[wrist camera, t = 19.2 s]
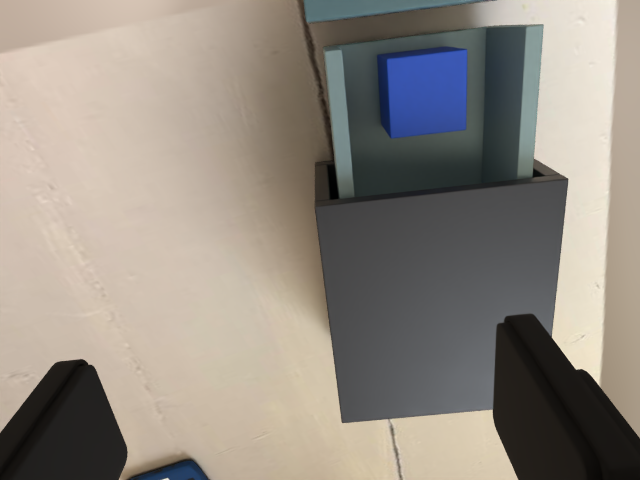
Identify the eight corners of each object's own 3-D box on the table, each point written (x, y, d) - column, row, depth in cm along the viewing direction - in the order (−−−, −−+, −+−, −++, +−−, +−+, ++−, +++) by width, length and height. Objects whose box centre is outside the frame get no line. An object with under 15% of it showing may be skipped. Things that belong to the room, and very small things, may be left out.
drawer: (293, -105, 25) (286, -149, 18) (513, -135, 24) (580, -191, 18) (330, 220, 32) (333, 265, 26) (498, 201, 32) (542, 243, 26)
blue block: (376, 54, 27) (386, 58, 23) (446, 46, 27) (467, 48, 23) (381, 125, 28) (390, 139, 25) (447, 117, 28) (466, 130, 25)
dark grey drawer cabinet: (315, 162, 31) (314, 206, 24) (505, 140, 31) (569, 178, 23) (336, 340, 37) (341, 423, 30) (496, 325, 37) (544, 405, 29)
